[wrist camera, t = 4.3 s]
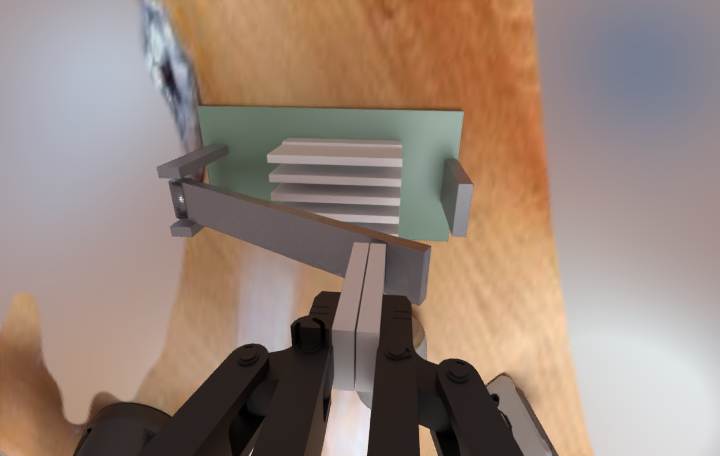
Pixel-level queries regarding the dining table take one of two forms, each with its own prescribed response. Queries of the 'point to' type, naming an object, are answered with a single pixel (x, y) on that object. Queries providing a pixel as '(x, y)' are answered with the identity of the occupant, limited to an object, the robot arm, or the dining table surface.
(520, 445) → the electrical switch
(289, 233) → the grey retaining bar
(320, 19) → the dining table surface
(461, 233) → the base
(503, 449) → the robot arm
